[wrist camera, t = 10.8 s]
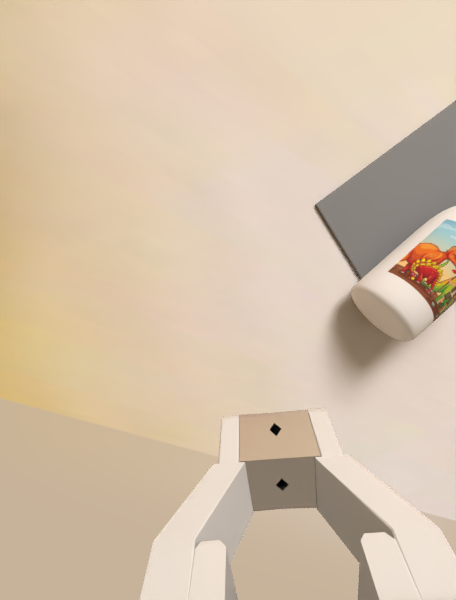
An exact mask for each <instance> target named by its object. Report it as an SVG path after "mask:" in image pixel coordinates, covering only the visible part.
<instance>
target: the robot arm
mask: <svg viewBox="0 0 456 600" xmlns="http://www.w3.org/2000/svg"><path fill="white" fill-rule="evenodd" d="M284 508H285V509H286V508H317V510H318V511H319V512H320V513H321V515H322V516H323V517H324V518H325V520H326V521H327V522H328V523H329V525H330V526H331V527H332V529H333V530H334V531H335V532H336V534H337V535H338V536H339V537H340V539H341V540H342V541H343V542H344V544H345V545H346V546H347V548H348V549H349V550H350V551H351V553H352V554H353V555H354V556H355V558H356V559H357V560H358V562H359V563H360V564H359V588H358V600H456V556H455V554H454V552H453V551H452V549H451V547H450V545H449V544H448V542H447V540H446V539H445V537H444V535H443V533H442V532H441V530H440V528H439V527H438V526H436V525H435V524H434V523H433V522H431V521H430V520H429V519H428V518H426V517H425V516H424V515H423V514H422V513H420V512H419V511H418V510H417V509H415V508H414V507H413V506H412V505H410V504H409V503H408V502H407V501H406V500H404V499H403V498H402V497H401V496H399V495H398V494H397V493H396V492H394V491H393V490H392V489H391V488H389V487H388V486H387V485H386V484H385V483H383V482H382V481H381V480H380V479H378V478H377V477H376V476H375V475H373V474H372V473H371V472H370V471H368V470H367V469H366V468H365V467H364V466H362V465H361V464H360V463H359V462H357V461H356V460H355V459H354V458H352V457H351V456H350V455H343V453H342V450H341V448H340V445H339V442H338V440H337V437H336V434H335V432H334V429H333V426H332V424H331V421H330V418H329V416H328V413H327V410H326V409H325V408H317V409H307V410H298V411H287V412H276V413H263V414H246V415H236V416H223V417H222V420H221V433H220V446H219V461H218V464H213V465H212V466H211V468H210V469H209V470H208V471H207V473H206V474H205V475H204V477H203V478H202V479H201V481H200V482H199V483H198V484H197V486H196V487H195V488H194V490H193V491H192V492H191V493H190V495H189V496H188V497H187V499H186V500H185V501H184V502H183V504H182V505H181V506H180V508H179V509H178V510H177V512H176V513H175V514H174V516H173V517H172V518H171V519H170V521H169V522H168V523H167V524H166V526H165V527H164V528H163V530H162V531H161V532H160V534H159V535H158V536H157V538H156V539H155V540H154V541H153V545H152V550H151V554H150V558H149V562H148V566H147V571H146V575H145V579H144V583H143V587H142V592H141V596H140V600H238V598H237V593H236V589H235V585H234V580H233V576H232V571H231V567H230V562H231V560H232V558H233V556H234V554H235V551H236V549H237V547H238V545H239V543H240V541H241V538H242V537H243V535H244V532H245V530H246V528H247V526H248V524H249V522H250V519H251V517H252V515H253V511H261V510H274V509H284Z"/></svg>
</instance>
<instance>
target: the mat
mask: <svg viewBox="0 0 456 600" xmlns="http://www.w3.org/2000/svg"><path fill="white" fill-rule="evenodd" d="M315 206H316V207H317V209H318V210H319V212H320V214H321V215H322V217H323V219H324V220H325V222H326V223H327V225H328V227H329V228H330V230H331V232H332V233H333V235H334V236H335V238H336V240H337V241H338V243H339V245H340V246H341V248H342V249H343V251H344V253H345V254H346V256H347V258H348V259H349V261H350V262H351V264H352V266H353V267H354V269H355V271H356V272H357V274H358V276H359V277H360V279H362V278H363V277H364V276H365V275H366V274H368V273H369V272H370V271H371V270H372V269H373V268H374V267H375V266H377V265H378V264H379V263H380V262H381V261H382V260H383V259H384V258H386V257H387V256H388V255H389V254H390V253H391V252H392V251H393V250H395V249H396V248H397V247H398V246H399V245H400V244H401V243H403V242H404V241H405V240H406V239H407V238H408V237H409V236H411V235H412V234H413V233H414V232H415V231H416V230H417V229H419V228H420V227H421V226H422V225H424V224H425V223H426V222H427V221H428V220H430V219H431V218H433V217H434V216H436V215H437V214H439V213H440V212H442V211H444V210H446V209H449V208H451V207H454V206H456V101H455V102H453V103H452V104H451V105H449V106H448V107H447V108H445V109H444V110H443V111H441V112H440V113H439V114H437V115H436V116H435V117H433V118H432V119H431V120H429V121H428V122H426V123H425V124H424V125H422V126H421V127H420V128H418V129H417V130H416V131H414V132H413V133H412V134H410V135H409V136H408V137H406V138H405V139H404V140H402V141H401V142H399V143H398V144H397V145H395V146H394V147H393V148H391V149H390V150H389V151H387V152H386V153H385V154H383V155H382V156H381V157H379V158H378V159H377V160H375V161H374V162H372V163H371V164H370V165H368V166H367V167H366V168H364V169H363V170H362V171H360V172H359V173H358V174H356V175H355V176H354V177H352V178H351V179H350V180H348V181H347V182H345V183H344V184H343V185H341V186H340V187H339V188H337V189H336V190H335V191H333V192H332V193H331V194H329V195H328V196H327V197H325V198H324V199H323V200H321V201H320V202H318V203H317V204H316V205H315Z"/></svg>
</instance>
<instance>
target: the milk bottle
mask: <svg viewBox="0 0 456 600" xmlns="http://www.w3.org/2000/svg"><path fill="white" fill-rule="evenodd" d="M351 296H352V299H353V301H354V303H355V305H356V306H357V308H358V309H359V310H360V311H361V313H362V314H363V315H364V316H365V317H366V318H367V319H368V320H369V321H370V322H371V323H372V324H373V325H374V326H376V327H377V328H378V329H380V330H381V331H382V332H384V333H385V334H387V335H388V336H390V337H392V338H394V339H396V340H399V341H405V342H406V341H410V340H413V339H414V338H415V337H417V336H418V335H419V334H420V333H421V332H422V331H424V330H425V329H426V328H427V327H428V326H429V325H430V324H431V323H432V322H434V321H435V320H436V319H437V318H438V317H439V316H440V315H441V314H442V313H444V312H445V311H446V310H447V309H448V308H449V307H450V306H451V305H452V304H453V303H455V302H456V206H454V207H451V208H449V209H446V210H444V211H442V212H440V213H439V214H437V215H436V216H434V217H433V218H431V219H430V220H428V221H427V222H426V223H425V224H424V225H422V226H421V227H420V228H419V229H417V230H416V231H415V232H414V233H413V234H412V235H411V236H409V237H408V238H407V239H406V240H405V241H404V242H403V243H401V244H400V245H399V246H398V247H397V248H396V249H395V250H393V251H392V252H391V253H390V254H389V255H388V256H387V257H386V258H384V259H383V260H382V261H381V262H380V263H379V264H378V265H377V266H375V267H374V268H373V269H372V270H371V271H370V272H369V273H368V274H366V275H365V276H364V277H363V278H362V279H361V280H360V281H359V282H358V283H357V284H356V285H355V286H354V287H353V289H352V291H351Z"/></svg>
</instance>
